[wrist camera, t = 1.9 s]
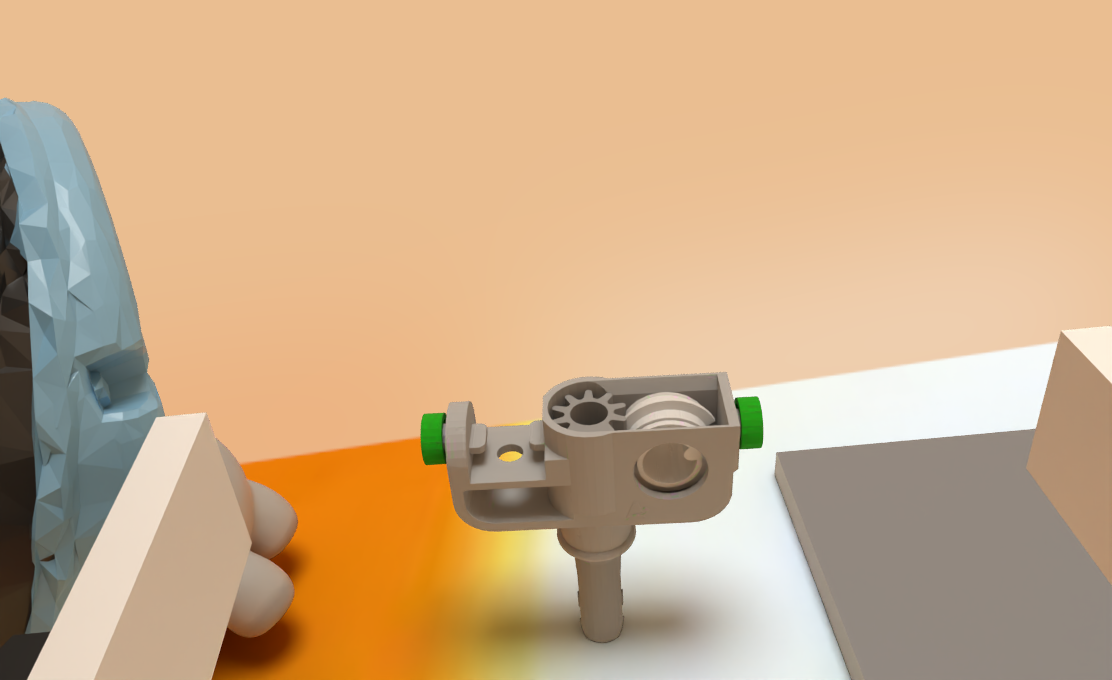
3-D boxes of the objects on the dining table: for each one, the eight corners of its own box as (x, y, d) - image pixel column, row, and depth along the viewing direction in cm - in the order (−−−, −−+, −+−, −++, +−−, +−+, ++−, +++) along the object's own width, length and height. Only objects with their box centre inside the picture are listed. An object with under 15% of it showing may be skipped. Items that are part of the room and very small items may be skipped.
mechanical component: (464, 598, 35) (426, 384, 30) (739, 586, 35) (751, 366, 29) (458, 665, 33) (414, 445, 27) (752, 652, 32) (769, 427, 27)
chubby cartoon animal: (79, 615, 39) (-82, 483, 35) (323, 497, 38) (187, 343, 33) (18, 772, 33) (-187, 637, 29) (306, 640, 32) (135, 475, 27)
